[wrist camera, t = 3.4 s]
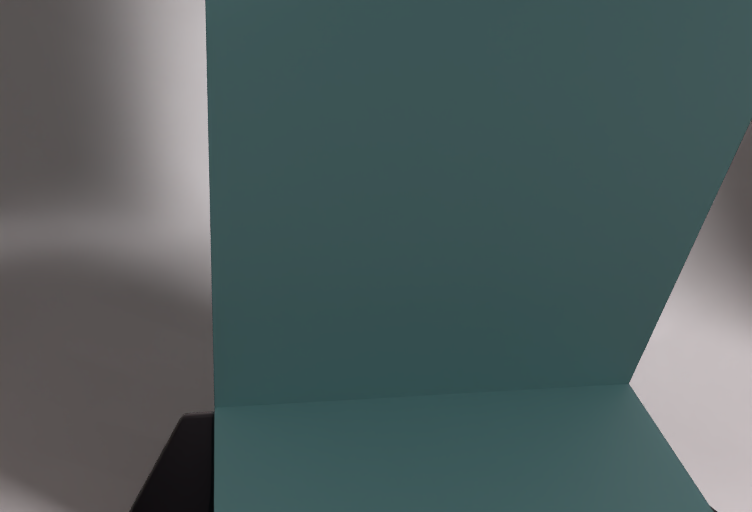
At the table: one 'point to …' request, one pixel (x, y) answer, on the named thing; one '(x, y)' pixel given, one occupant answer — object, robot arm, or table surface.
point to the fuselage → (457, 245)
